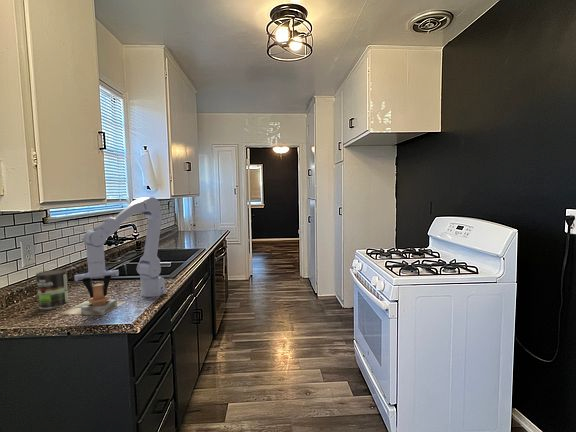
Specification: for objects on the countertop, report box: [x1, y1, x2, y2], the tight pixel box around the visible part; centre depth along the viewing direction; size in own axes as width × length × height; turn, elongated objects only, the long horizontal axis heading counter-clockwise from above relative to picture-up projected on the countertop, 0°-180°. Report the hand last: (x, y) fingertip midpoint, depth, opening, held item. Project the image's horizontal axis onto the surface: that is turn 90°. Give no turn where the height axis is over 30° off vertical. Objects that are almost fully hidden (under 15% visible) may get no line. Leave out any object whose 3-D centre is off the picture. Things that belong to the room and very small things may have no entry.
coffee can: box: [35, 268, 69, 310], centre depth 134 cm, size 10×10×14 cm
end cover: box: [88, 283, 110, 306], centre depth 124 cm, size 7×7×8 cm
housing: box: [59, 299, 126, 316], centre depth 127 cm, size 18×14×4 cm
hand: (98, 296), depth 124 cm, fingers closed on end cover, 4 cm apart
